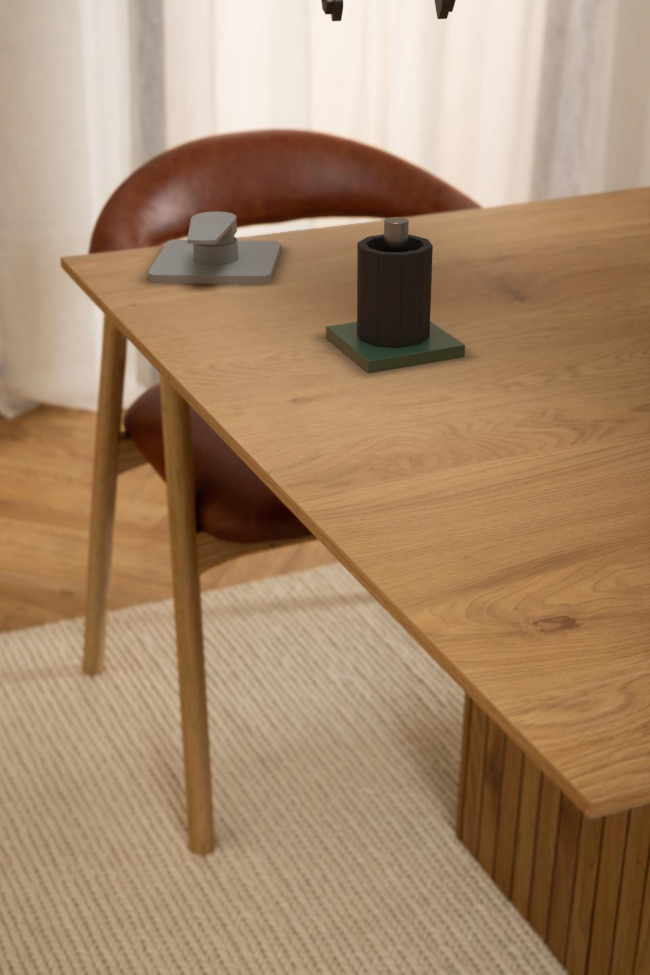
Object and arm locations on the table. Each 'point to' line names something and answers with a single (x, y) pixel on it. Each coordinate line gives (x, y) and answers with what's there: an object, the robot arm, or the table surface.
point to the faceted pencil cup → (394, 292)
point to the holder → (391, 357)
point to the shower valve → (215, 255)
